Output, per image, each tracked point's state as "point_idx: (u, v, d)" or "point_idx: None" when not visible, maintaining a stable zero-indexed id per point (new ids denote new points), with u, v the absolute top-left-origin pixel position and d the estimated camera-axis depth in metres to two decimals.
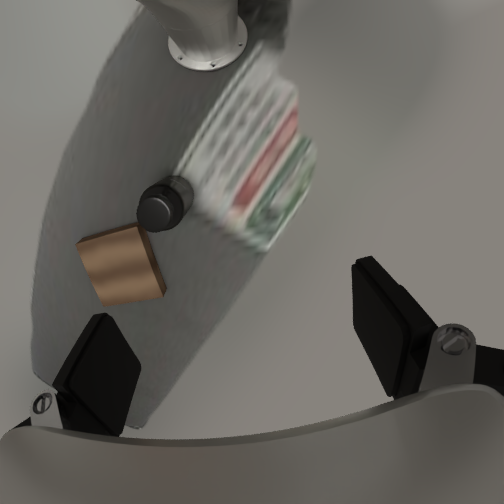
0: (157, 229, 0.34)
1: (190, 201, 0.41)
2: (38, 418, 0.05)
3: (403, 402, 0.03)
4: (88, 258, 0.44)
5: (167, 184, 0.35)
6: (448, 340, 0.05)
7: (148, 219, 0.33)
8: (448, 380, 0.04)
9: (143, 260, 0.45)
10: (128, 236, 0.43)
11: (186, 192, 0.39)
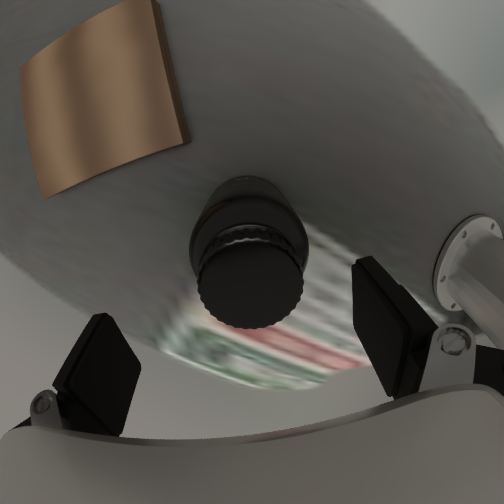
0: (208, 297, 0.12)
1: None
2: (38, 418, 0.05)
3: (403, 402, 0.03)
4: (112, 22, 0.13)
5: None
6: (448, 340, 0.05)
7: (238, 274, 0.12)
8: (448, 380, 0.04)
9: (105, 157, 0.18)
10: (159, 119, 0.17)
11: None
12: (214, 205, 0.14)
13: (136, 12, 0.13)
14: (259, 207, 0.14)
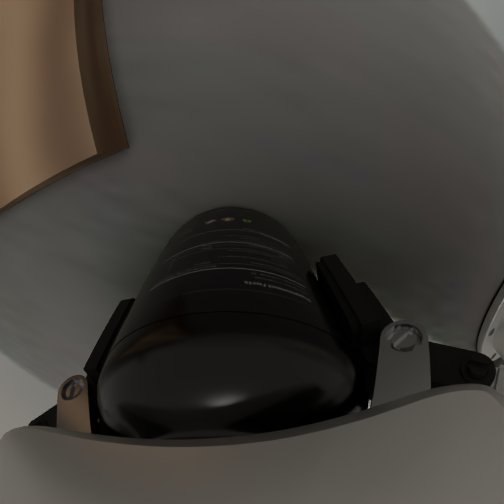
0: None
1: None
2: (68, 404, 0.05)
3: (403, 402, 0.03)
4: None
5: None
6: (398, 337, 0.06)
7: None
8: (391, 375, 0.05)
9: None
10: (59, 111, 0.07)
11: None
12: (126, 351, 0.04)
13: None
14: (256, 384, 0.04)
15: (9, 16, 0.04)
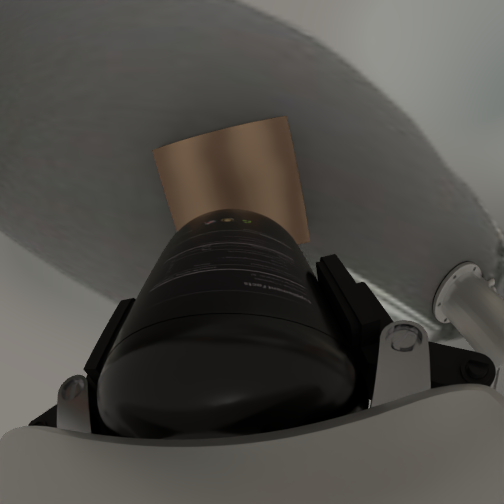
0: None
1: None
2: (68, 404, 0.05)
3: (403, 402, 0.03)
4: (257, 139, 0.26)
5: None
6: (397, 338, 0.06)
7: None
8: (391, 375, 0.05)
9: None
10: (296, 225, 0.30)
11: None
12: (126, 353, 0.04)
13: (278, 135, 0.26)
14: (256, 387, 0.04)
15: (259, 167, 0.27)
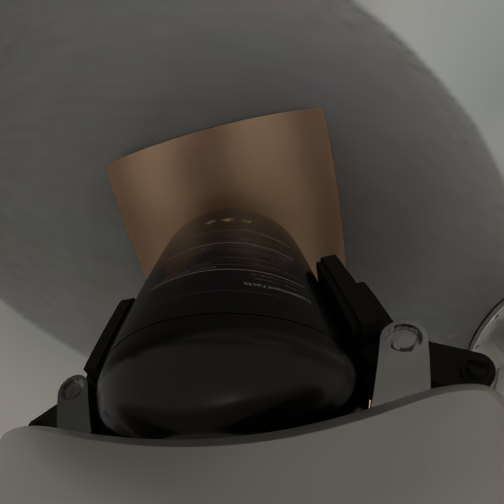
0: None
1: None
2: (68, 404, 0.05)
3: (403, 402, 0.03)
4: (275, 143, 0.15)
5: None
6: (397, 338, 0.06)
7: None
8: (391, 375, 0.05)
9: None
10: None
11: None
12: (126, 353, 0.04)
13: (309, 139, 0.15)
14: (256, 387, 0.04)
15: (277, 191, 0.16)
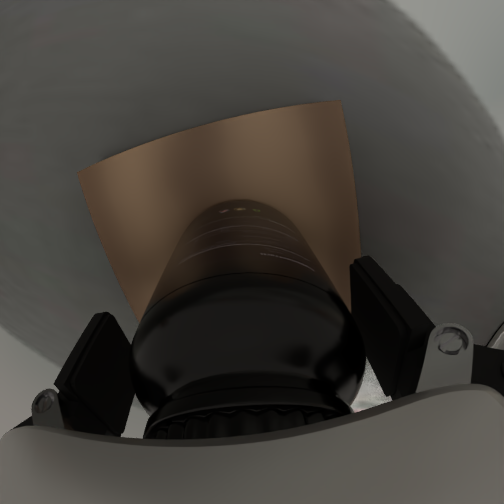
0: None
1: None
2: (40, 417, 0.05)
3: (403, 402, 0.03)
4: (282, 145, 0.12)
5: None
6: (445, 340, 0.05)
7: None
8: (445, 379, 0.04)
9: None
10: None
11: None
12: (164, 308, 0.06)
13: (324, 139, 0.12)
14: (274, 326, 0.05)
15: (285, 204, 0.13)
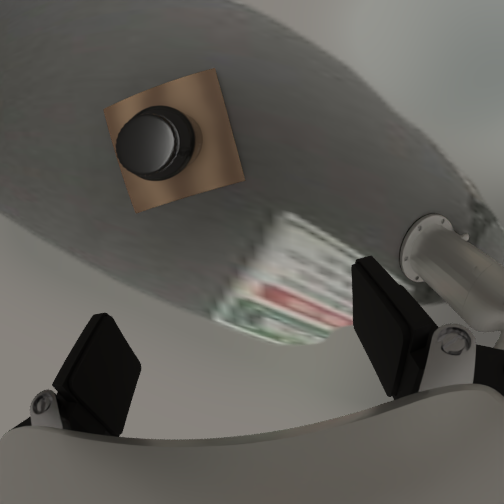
0: (121, 154, 0.18)
1: None
2: (38, 418, 0.05)
3: (403, 402, 0.03)
4: (189, 90, 0.26)
5: (194, 150, 0.22)
6: (448, 340, 0.05)
7: (136, 136, 0.17)
8: (448, 380, 0.04)
9: (192, 186, 0.31)
10: (230, 165, 0.30)
11: None
12: (135, 114, 0.20)
13: (207, 85, 0.26)
14: (158, 109, 0.19)
15: (191, 113, 0.27)
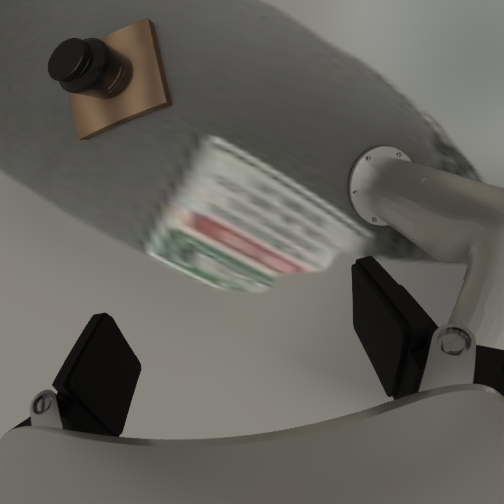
0: (50, 67, 0.16)
1: (96, 96, 0.25)
2: (38, 418, 0.05)
3: (403, 402, 0.03)
4: (127, 36, 0.25)
5: (107, 66, 0.20)
6: (448, 340, 0.05)
7: (61, 54, 0.16)
8: (448, 380, 0.04)
9: (122, 111, 0.29)
10: (154, 90, 0.29)
11: (103, 90, 0.24)
12: None
13: (141, 30, 0.25)
14: (84, 40, 0.18)
15: (126, 53, 0.26)
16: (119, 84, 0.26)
